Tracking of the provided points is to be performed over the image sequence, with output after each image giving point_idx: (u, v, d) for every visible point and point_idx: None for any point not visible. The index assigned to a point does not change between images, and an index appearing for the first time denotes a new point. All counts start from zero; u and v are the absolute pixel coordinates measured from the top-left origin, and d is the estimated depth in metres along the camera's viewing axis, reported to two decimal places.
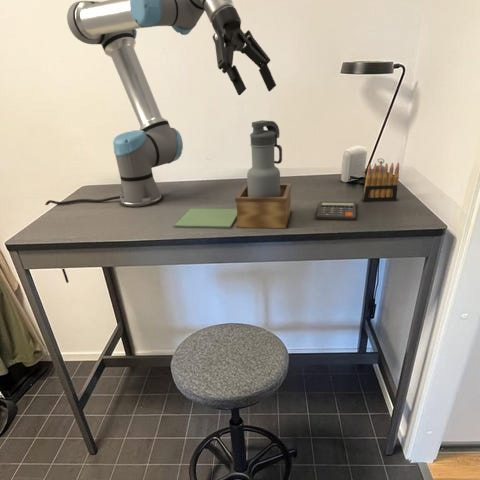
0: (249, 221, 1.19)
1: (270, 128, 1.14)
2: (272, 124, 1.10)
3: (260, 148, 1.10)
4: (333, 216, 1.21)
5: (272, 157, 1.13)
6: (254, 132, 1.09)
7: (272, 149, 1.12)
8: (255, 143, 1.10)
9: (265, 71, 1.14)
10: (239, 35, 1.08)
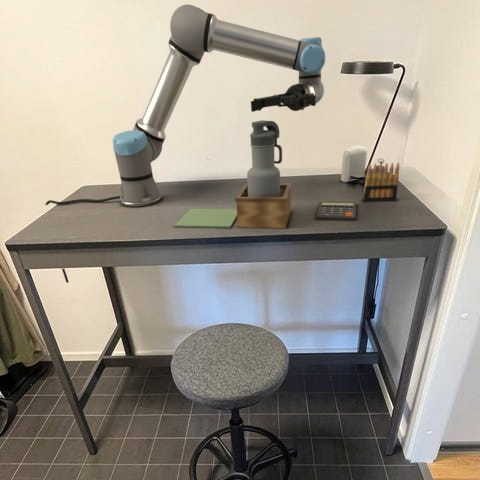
0: (249, 221, 1.19)
1: (270, 128, 1.14)
2: (272, 124, 1.10)
3: (260, 148, 1.10)
4: (333, 216, 1.21)
5: (272, 157, 1.13)
6: (254, 132, 1.09)
7: (272, 149, 1.12)
8: (255, 143, 1.10)
9: (260, 106, 1.21)
10: (289, 104, 1.26)
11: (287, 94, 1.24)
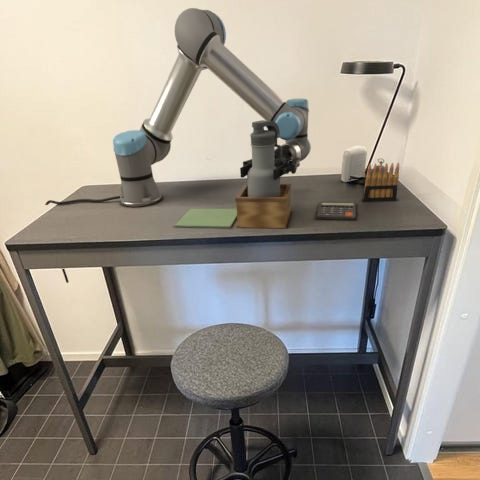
0: (249, 221, 1.19)
1: (270, 127, 1.14)
2: (272, 124, 1.10)
3: (260, 148, 1.10)
4: (333, 216, 1.21)
5: (272, 157, 1.13)
6: (254, 132, 1.09)
7: (272, 149, 1.11)
8: (255, 143, 1.10)
9: None
10: None
11: None
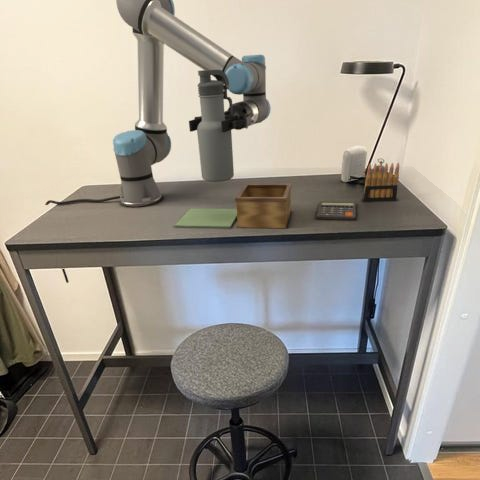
0: (249, 221, 1.19)
1: (219, 78, 1.09)
2: (220, 73, 1.06)
3: (207, 98, 1.06)
4: (333, 216, 1.21)
5: (221, 109, 1.08)
6: (201, 81, 1.04)
7: (220, 100, 1.07)
8: (202, 93, 1.05)
9: None
10: None
11: (228, 113, 1.20)
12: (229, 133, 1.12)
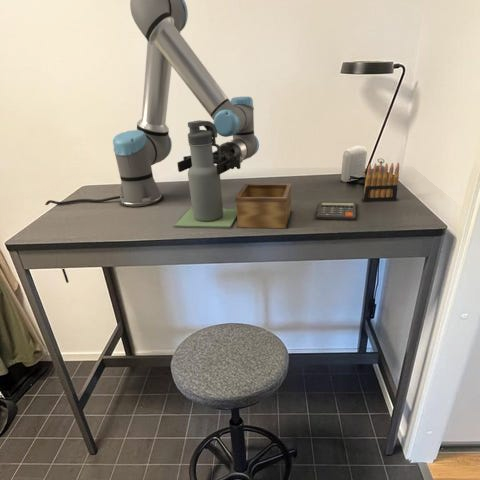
0: (249, 221, 1.19)
1: (208, 127, 1.17)
2: (208, 124, 1.13)
3: (197, 147, 1.14)
4: (333, 216, 1.21)
5: (210, 156, 1.16)
6: (190, 132, 1.12)
7: (209, 148, 1.15)
8: (192, 142, 1.13)
9: (188, 165, 1.24)
10: (219, 162, 1.29)
11: (216, 153, 1.27)
12: (218, 177, 1.19)
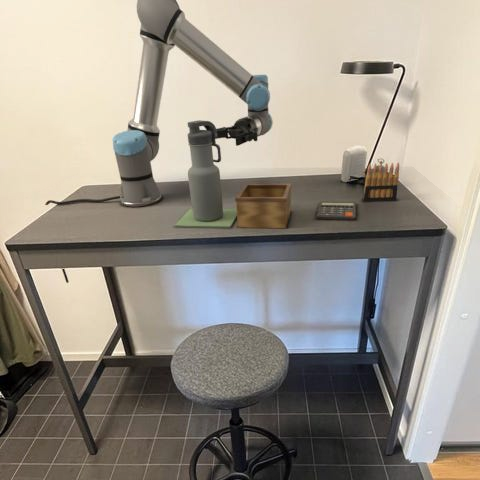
0: (249, 221, 1.19)
1: (208, 127, 1.17)
2: (208, 124, 1.13)
3: (197, 147, 1.14)
4: (333, 216, 1.21)
5: (210, 156, 1.16)
6: (190, 132, 1.12)
7: (209, 148, 1.15)
8: (192, 142, 1.13)
9: None
10: None
11: (234, 127, 1.33)
12: (218, 177, 1.19)
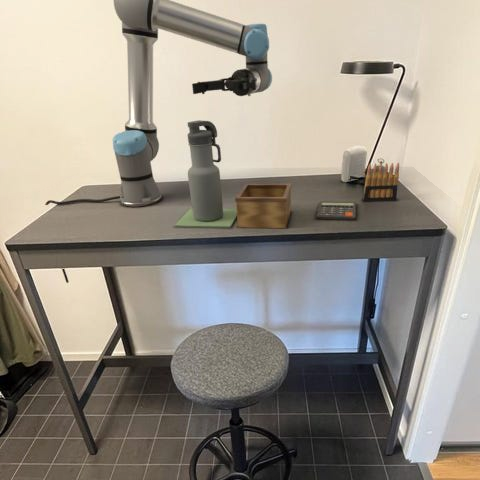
0: (249, 221, 1.19)
1: (208, 127, 1.17)
2: (208, 124, 1.13)
3: (197, 147, 1.14)
4: (333, 216, 1.21)
5: (210, 156, 1.16)
6: (190, 132, 1.12)
7: (209, 148, 1.15)
8: (191, 142, 1.13)
9: (202, 89, 1.22)
10: None
11: (231, 78, 1.26)
12: (218, 177, 1.19)
